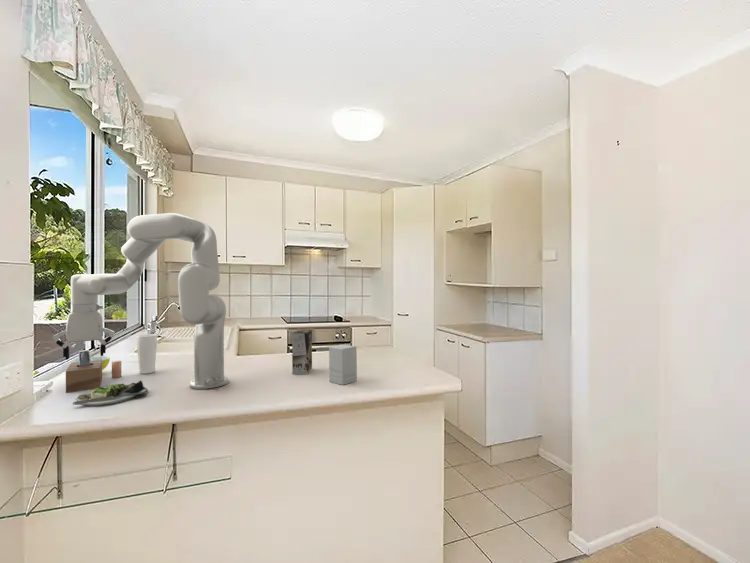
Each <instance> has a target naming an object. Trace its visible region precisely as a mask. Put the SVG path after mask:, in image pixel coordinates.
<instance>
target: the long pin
mask: <svg viewBox="0 0 750 563" xmlns="http://www.w3.org/2000/svg"><path fill="white" fill-rule="evenodd" d="M90 357H91V354H90V350H89V349H86V350H79V351H78V359H79V367H82V366H90Z"/></svg>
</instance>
